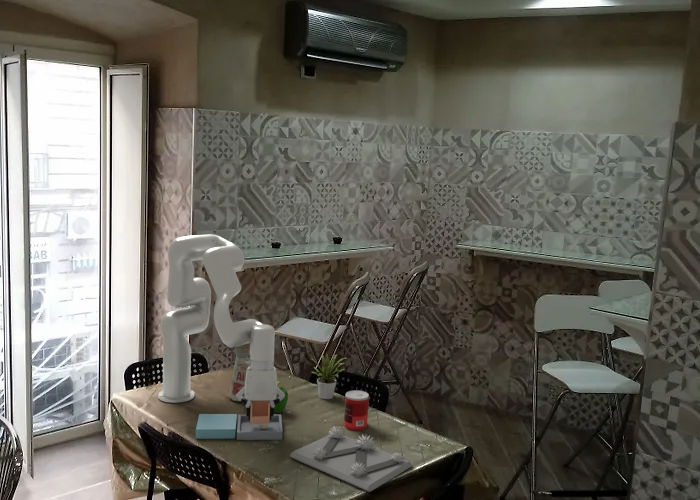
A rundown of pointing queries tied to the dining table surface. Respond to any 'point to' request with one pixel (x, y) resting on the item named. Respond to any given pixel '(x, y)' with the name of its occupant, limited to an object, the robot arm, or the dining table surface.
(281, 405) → the bell pepper
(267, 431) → the tray
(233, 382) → the bottle
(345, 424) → the canned food
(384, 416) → the dining table surface
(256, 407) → the orange open box
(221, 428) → the stand
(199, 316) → the robot arm
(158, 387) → the dining table surface
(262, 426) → the ball
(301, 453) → the grey linkage board
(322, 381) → the house plant
